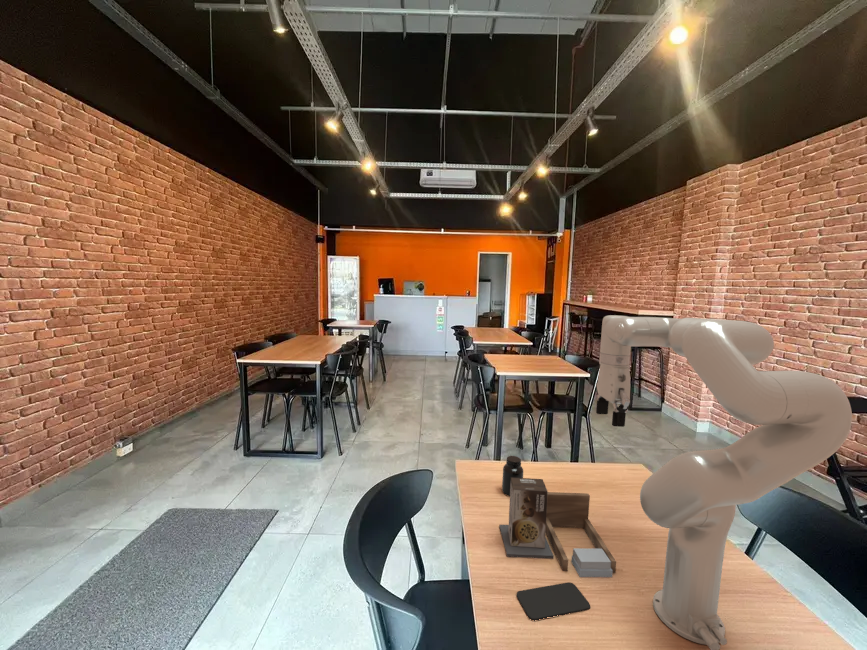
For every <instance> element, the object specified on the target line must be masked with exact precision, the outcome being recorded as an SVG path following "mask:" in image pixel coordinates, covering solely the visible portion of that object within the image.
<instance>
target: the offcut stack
mask: <svg viewBox="0 0 867 650" xmlns="http://www.w3.org/2000/svg"><path fill="white" fill-rule="evenodd" d="M570 562H571V564H572V566H573V567H574V569H575V571H576V573H577V574H578V576H579V578H613V574H614V573H613V570H612V569H611V561H610V560H609V558H608V557H607V555H606V554H605V552H604V551H603V550H602V549H596V548H590V547H589V548H586V547H584V548H582V547H581V548H578V547H577V548H572V555H571V560H570Z"/></svg>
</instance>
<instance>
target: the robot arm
mask: <svg viewBox="0 0 867 650" xmlns="http://www.w3.org/2000/svg"><path fill="white" fill-rule="evenodd" d="M601 324H602V325H601V334H600V335H601V337H600V350H599V360H598V361H599V370H598V379H597V382H596V383H595V385H596V410H595V413H596V414H597V415H608V414H609V405H610V404H609V403H611V404H612V407H613V411H612V418H611V419H612V420H611V426H612V427H617V428H618V427H621V428H622V427H623V428H624V427H625V426H626V414H627V413H628V409H629V406H630V403H631V373H630V372H631V371H630V361H631V350H632V347H661V348H662V347H663V348H669V349H671V350H672V351H673V352H674V353H675V354H677V355H678V356H681V357H685V359H686V360H687V362H688V363H689V365H690V366H691V368H692V369H693V371H694V372H695V373H696V375H697V376H698V378H700V379H701V381H702V382H703V384H705V386H706V387H707V389H708V390H709V392H710V393H711V394H712V395H713V397H714V398H715V400H716V401H717V402H718V403H719V405H720V406H721V407H722V408H723V409H724V410H725V411H726V412H727V413H728V414H729V415H730V416H732V417H733V418H735V419H736V420H737V421H740V422H741V423H745V424H749V425H753V426H754V425H755V426H758V427H755V428H754V429H752V430H750V431H749V432H746V433H745V434H744V435H743V436H741V438H739V439H738V440H736V441H735V442H733V443H731V444H729V445H728V446H725V447H722V448H717V449H715V448H714V449H704V450H694V451H693V450H691V451H686V452H682V453H679V454H678V455H675V456H674V457H673V458H671V459H670V460H668V461H667V462H666V463H665V464H664V465H662V466H661V467H659V468H658V469H657V470H656V471H655V472H653V473H652V474H650V476H648V478H647V479H645V480H644V482H643V483H642V485H641V489H640V493H639V502H640V505H641V508H642V510H643V513H644V514H645V516H647V518H648V519H649V520H650V521H652V523H654V524H656V525H657V526H659V527H662V528H666V529H668V535H667V540H666V541H667V542H666V551H665V552H666V553H665V562H664V563H665V564H664V573H663V582H662V583H663V585H662V589H660V590H658V591H656V592H655V593H654V595H653V599H652V607H653V610H654V612H655V613H656V615H657V617H659V619H660V620H661V622H663V624H665V626H667V627H668V628H669V629H670V630H671V631H673V632H674V633H676V634H677V635H679V636H681V637H682V638H684V639H687V640H689V641H691V642H693V643H697V644H700V645H706V646H707V647H708V648H709V649H710V650H720V649H721V645H726V644H727V643H728V640H727V638H726V637H725V635H726V627H725V624H724V622H723V620H722V619H721V617H720V616H719V615H718V609H719V599H720V598H719V597H720V590H721V581H722V572H723V564H724V557H725V549H726V542H727V538H728V535H729V532H730V529H731V527H732V524H733V522H734V518H735V516H736V508H737V507H736V505H737V506H739V505H744V504H749V503H753V502H755V501H757V500H759V499H760V498H762V497H763V496H765V495H767V494H769V493H771V492H772V491H774V490H776V489H778V488H779V487H782V485H783V486H784V485H785V484H787V483H789V482H790V481H791V480H793V479H794V478H796V477H798V476H800V475H801V474H804V473H805V472H807V471H809V470H811V469H812V468H815V467H816V466H818V465H820V464H821V463H823V462H824V461H826V460H827V459H829V458H830V457H831V456H832V455H834V454H835V453H836V452H837V451H838V450H839V449H840V448H841V447H842V446H843V444H844V443H845V441H846V440H847V438H848V436H849V434H850V432H851V429H852V424H853V413H852V407H851V403H850V400H849V399H848V396H847V395H846V392H845V391H844V390H843V389H842V388H841V387H840V386H839V385H838V384H837V383H836V382H835V381H834V380H831V379H830V378H829V377H826V376H823V375H820V374H817V373H815V372H809V371H801V370H757V369H756V367H754V366H755V365H758V364H761V363H762V362H764V361H766V360H767V359H768V358H769V357H770V356H771V354H772V353H773V351H774V347H775V341H774V338H773V336H772V334H771V333H770V331H769V330H767V329H766V328H765V327H764V326H762V325H760V324H758V323H755V322H752V321H751V322H750V321H745V320H734V319H733V320H732V319H718V318H717V319H715V318H702V317H701V318H700V317H699V318H698V317H682V318H676V317H675V318H672V317H656V316H654V317H653V316H628V315H616V314H614V315H611V314H610V315H605V316H603V318H602V323H601ZM720 644H721V645H720Z"/></svg>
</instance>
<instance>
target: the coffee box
mask: <svg viewBox="0 0 867 650" xmlns="http://www.w3.org/2000/svg"><path fill="white" fill-rule="evenodd" d="M548 492H549V491H548V489H547V487H546V484H545V482H544V480H543V479H542V478H527V477H526V478H525V477H523V478H511V483H510V496H509V510H508V525H509V527H508V532H509V538H510V543H511V546H522V547H536V548H545V537H547V534H546V514H547V495H548Z"/></svg>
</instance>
